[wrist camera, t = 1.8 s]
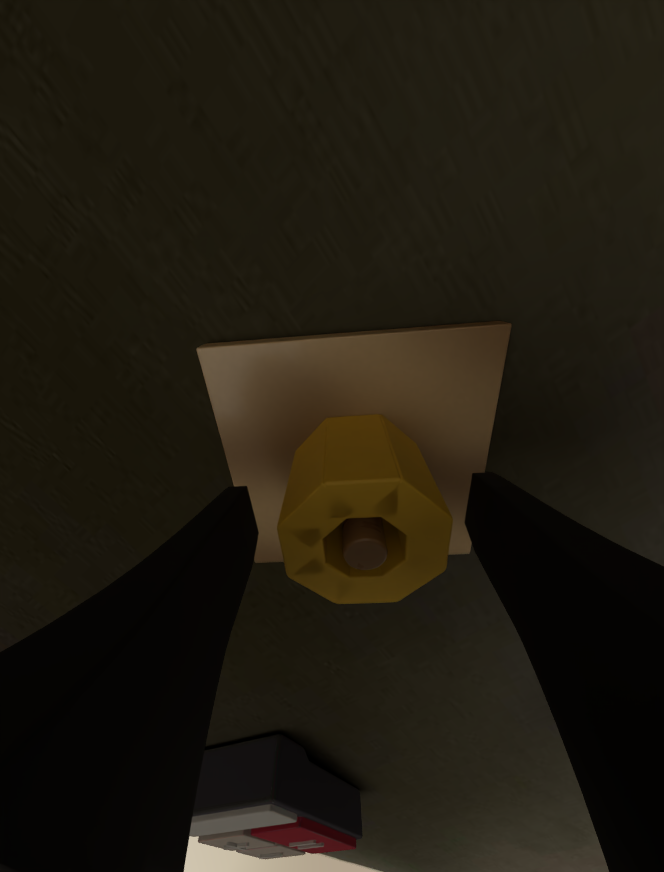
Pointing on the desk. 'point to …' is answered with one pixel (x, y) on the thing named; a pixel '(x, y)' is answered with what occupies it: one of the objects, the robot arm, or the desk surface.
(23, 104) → the desk surface
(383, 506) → the sleeve
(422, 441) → the stand
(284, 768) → the calculator
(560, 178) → the desk surface
